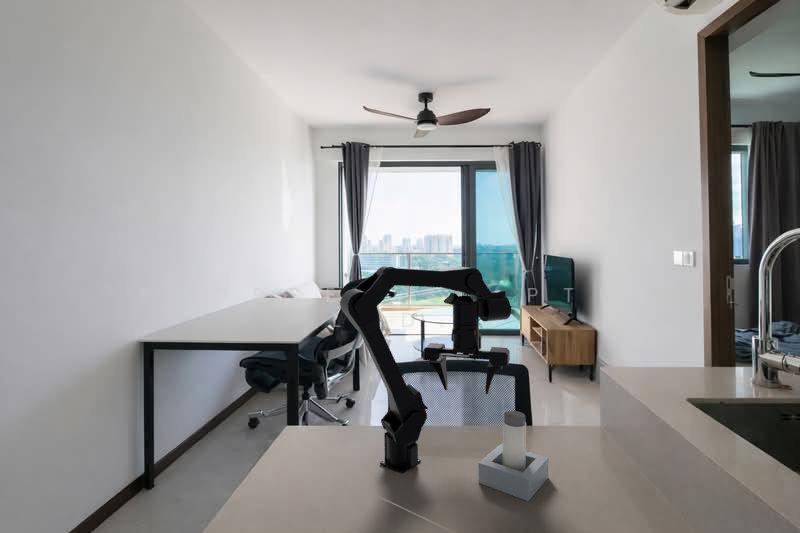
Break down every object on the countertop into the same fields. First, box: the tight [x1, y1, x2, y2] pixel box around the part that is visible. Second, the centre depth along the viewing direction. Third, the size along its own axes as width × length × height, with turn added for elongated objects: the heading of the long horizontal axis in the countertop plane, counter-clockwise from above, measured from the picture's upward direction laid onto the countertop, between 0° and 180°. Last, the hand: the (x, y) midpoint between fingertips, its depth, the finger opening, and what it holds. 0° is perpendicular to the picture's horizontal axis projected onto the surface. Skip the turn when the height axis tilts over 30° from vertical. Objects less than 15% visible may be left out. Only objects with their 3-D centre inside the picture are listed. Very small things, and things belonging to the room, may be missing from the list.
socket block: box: [478, 443, 549, 502], centre depth 84 cm, size 10×10×4 cm
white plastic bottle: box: [502, 410, 527, 472], centre depth 84 cm, size 4×4×12 cm
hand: (466, 391), depth 97 cm, fingers open, 9 cm apart
